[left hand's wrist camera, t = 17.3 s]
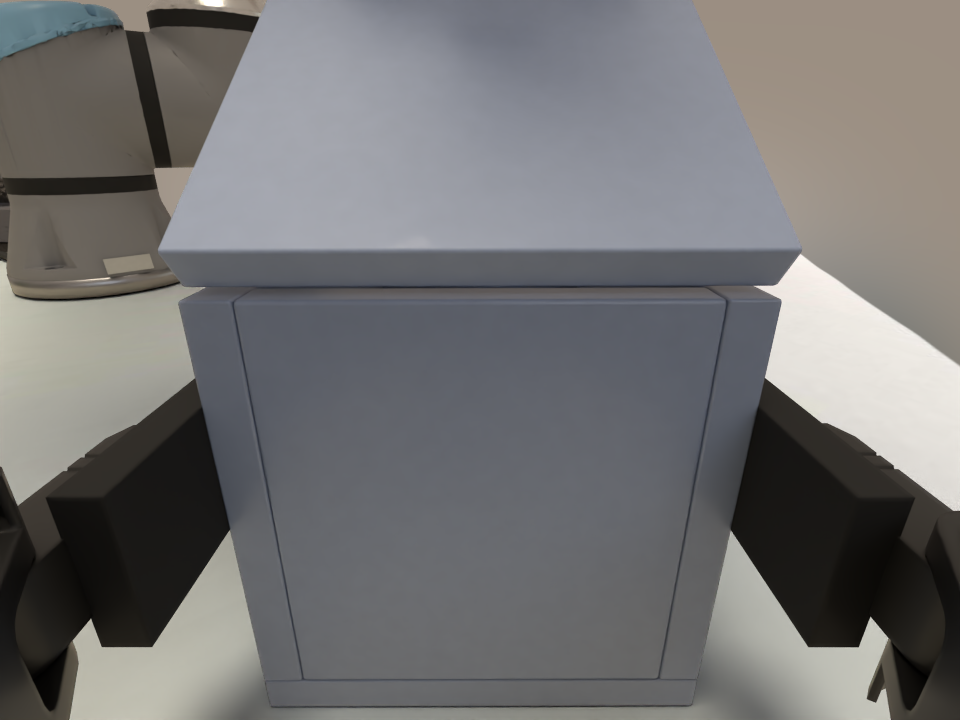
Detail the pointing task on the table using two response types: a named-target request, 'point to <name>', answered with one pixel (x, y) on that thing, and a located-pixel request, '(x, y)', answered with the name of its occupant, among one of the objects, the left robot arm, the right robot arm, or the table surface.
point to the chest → (480, 483)
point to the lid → (479, 152)
